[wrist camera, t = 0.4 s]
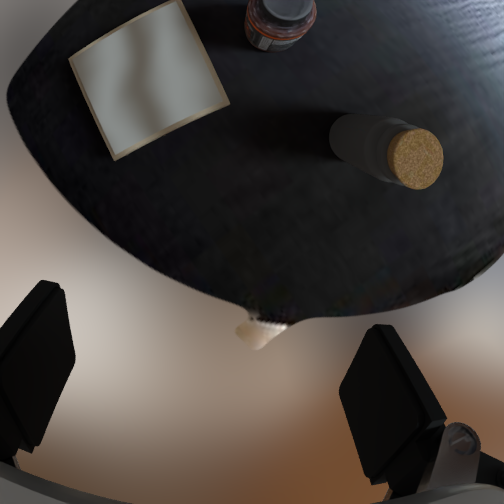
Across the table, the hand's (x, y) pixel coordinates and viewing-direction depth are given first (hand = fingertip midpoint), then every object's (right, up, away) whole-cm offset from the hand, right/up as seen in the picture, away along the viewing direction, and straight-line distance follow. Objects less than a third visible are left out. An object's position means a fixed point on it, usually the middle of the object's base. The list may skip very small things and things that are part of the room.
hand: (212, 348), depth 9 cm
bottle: (+13, +16, +26) cm, 33 cm away
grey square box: (-10, +22, +21) cm, 32 cm away
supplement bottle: (+3, +27, +20) cm, 34 cm away
